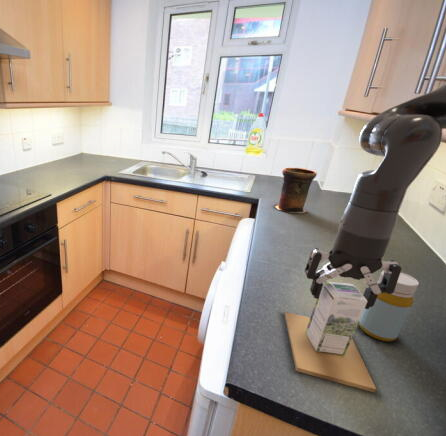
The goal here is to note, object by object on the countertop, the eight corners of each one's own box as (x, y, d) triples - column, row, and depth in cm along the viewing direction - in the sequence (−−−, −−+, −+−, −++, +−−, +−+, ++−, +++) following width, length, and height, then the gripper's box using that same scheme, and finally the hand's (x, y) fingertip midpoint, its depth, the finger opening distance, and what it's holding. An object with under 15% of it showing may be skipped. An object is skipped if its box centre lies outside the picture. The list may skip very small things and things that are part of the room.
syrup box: (332, 336, 67) (351, 282, 61) (345, 357, 61) (368, 299, 56) (304, 333, 68) (321, 278, 62) (316, 353, 62) (335, 295, 57)
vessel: (297, 204, 157) (306, 167, 150) (312, 214, 144) (323, 173, 136) (269, 204, 157) (277, 166, 150) (282, 213, 144) (292, 173, 137)
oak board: (344, 328, 71) (346, 325, 70) (374, 393, 55) (376, 389, 55) (284, 315, 75) (285, 311, 74) (296, 371, 59) (297, 367, 59)
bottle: (399, 347, 66) (426, 290, 60) (360, 335, 69) (383, 280, 63) (391, 328, 71) (415, 274, 66) (355, 317, 74) (375, 266, 69)
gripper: (325, 230, 53) (303, 303, 59) (425, 243, 49) (390, 322, 55) (315, 216, 60) (296, 284, 66) (403, 227, 55) (374, 299, 61)
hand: (339, 301), depth 60 cm, fingers open, 8 cm apart
